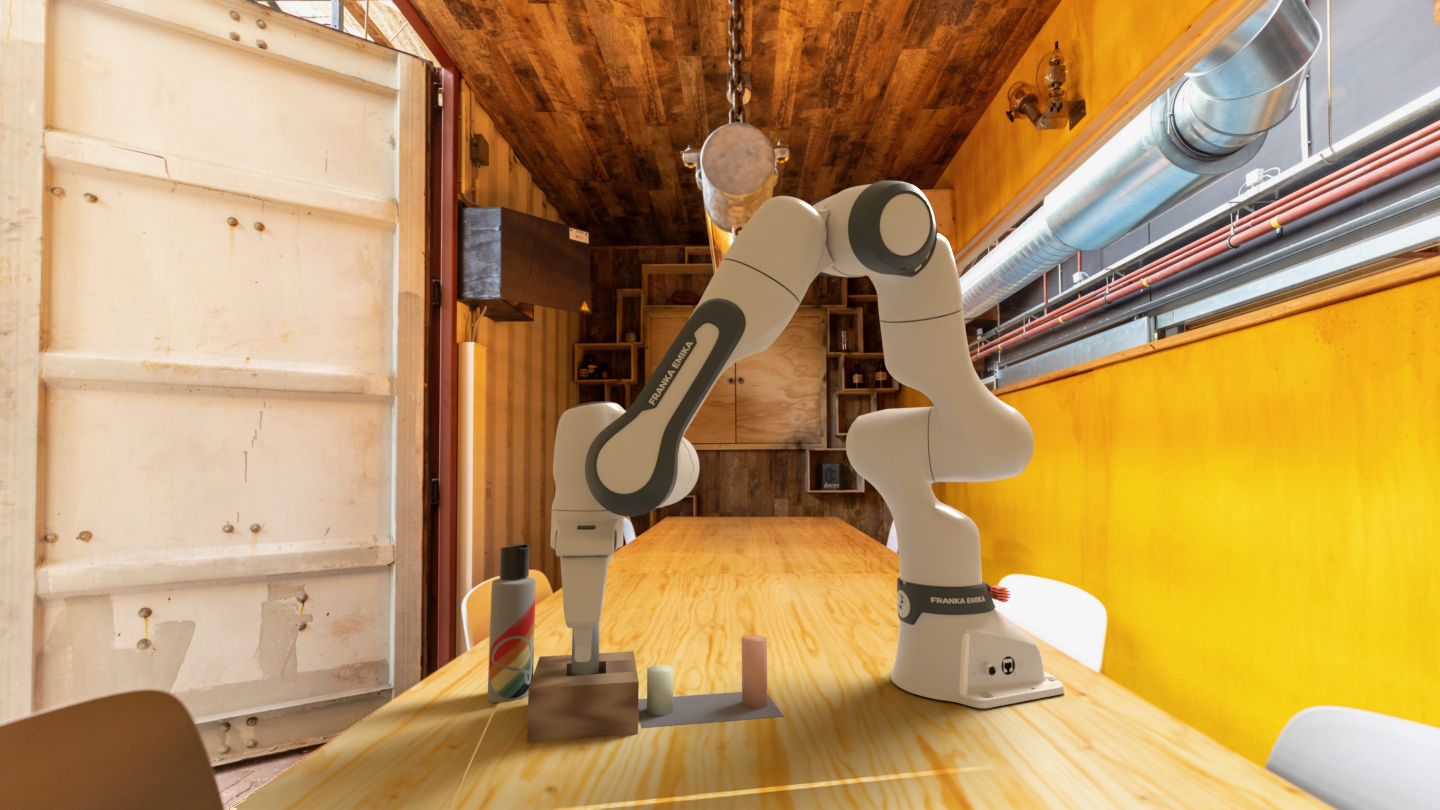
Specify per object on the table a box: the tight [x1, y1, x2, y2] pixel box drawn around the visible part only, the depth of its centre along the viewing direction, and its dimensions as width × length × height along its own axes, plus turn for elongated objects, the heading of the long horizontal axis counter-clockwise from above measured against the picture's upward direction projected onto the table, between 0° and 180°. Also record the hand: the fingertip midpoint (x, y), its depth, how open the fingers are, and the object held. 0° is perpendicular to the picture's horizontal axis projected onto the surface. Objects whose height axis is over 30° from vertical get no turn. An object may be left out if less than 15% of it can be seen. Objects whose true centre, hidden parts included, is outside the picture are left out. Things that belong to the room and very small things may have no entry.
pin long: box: [571, 624, 600, 675], centre depth 75 cm, size 3×3×14 cm
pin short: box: [646, 664, 674, 716], centre depth 76 cm, size 3×3×5 cm
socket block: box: [526, 650, 640, 744], centre depth 74 cm, size 12×12×6 cm
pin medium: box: [741, 634, 768, 709], centre depth 78 cm, size 3×3×8 cm
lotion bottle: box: [487, 543, 537, 704], centre depth 83 cm, size 6×6×20 cm
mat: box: [638, 691, 785, 729], centre depth 76 cm, size 17×9×1 cm, turn 101°
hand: (584, 648), depth 74 cm, fingers open, 8 cm apart
